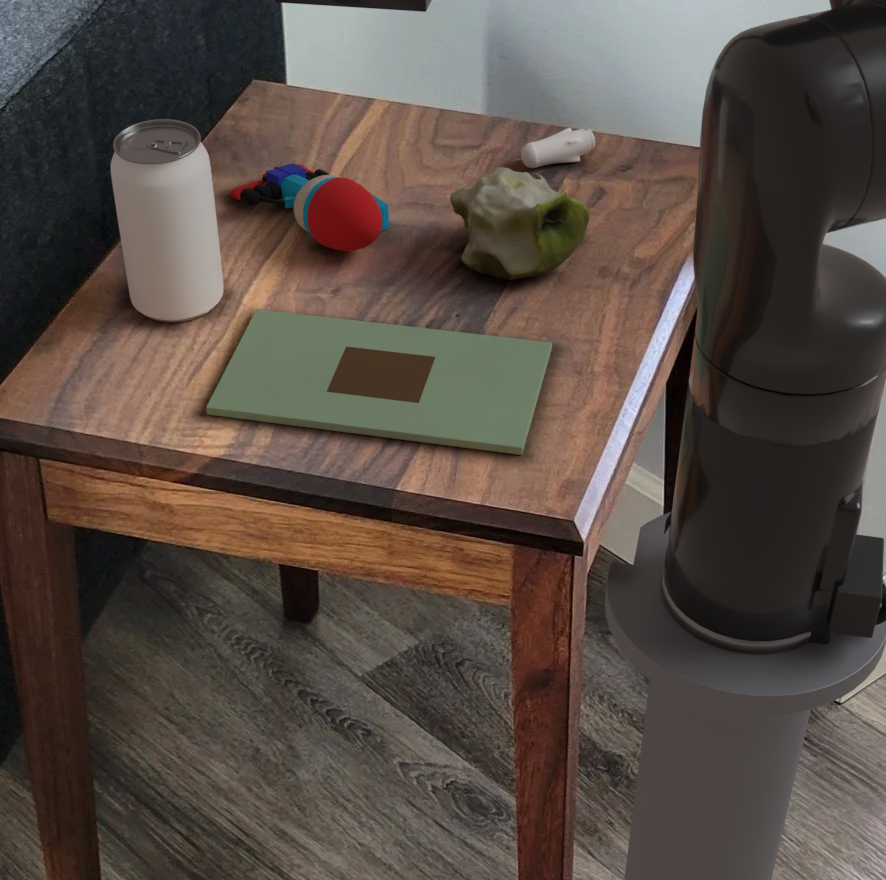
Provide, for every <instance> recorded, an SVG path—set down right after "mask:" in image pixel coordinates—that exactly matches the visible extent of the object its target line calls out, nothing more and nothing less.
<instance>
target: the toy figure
mask: <svg viewBox="0 0 886 880" xmlns="http://www.w3.org/2000/svg"><path fill="white" fill-rule="evenodd" d="M228 194H229V195H230V196H231V197H232V198H233V199H235V200H237V201H241V202H242V203H243V204H245V205H247V206H249V207H256V206H258V205H259V204H260V202H262V203H264V204H265V203H266V204H271V205H275V206H276V205H277V206H282V207H285V209H292V208H293V213H294V219H295V220H296V222H297V224H298V225H299V226H300V227H301V228H302V230H304V231H305V232H306V233H308V235H310V236H311V237H312V238H313V239H314V240H315V241H316V242H317V243H318V244H320V245H322V246H325V247H327V248H330V249H332V250H335V251H341V252H343V251H344V252H354V251H358V250H361V249H365V248H367V247H369V246H371V245H372V244H373V243H374V242H376V240H377V239H378V237H379V236H380V234H381V232H382V231H385V230H387V229H389V228H390V213H389V211H390V210H389V204H388V203H386V202H385V201H383V200H382V199H380V198H378V197H377V196H376V195H374V194H372V193H371V192H370V191H369V190H368V189H366V188H365V187H364V186H363V185H362V184H360V183H359V182H357V181H355V180H353V179H351V178H349V177H344V176H340V175H335V174H330V173H329V172H327V171H326V170H323V169H321V168H317V169H316V170H314V172H313V170H311V169H309V168H307V167H306V166H304V165H302V164H298V163H294V162H292V163H288V164H283V165H280V166H275V167H274V168H272V169H269V170H266V171H265V173H264V174H262V175H261V179H258V180H254V181H251V182H248V183H245V184H242V185H239V186H236V187H235V188H233V189H231V191H229V193H228Z"/></svg>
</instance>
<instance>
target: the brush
mask: <svg viewBox="0 0 886 880" xmlns="http://www.w3.org/2000/svg"><path fill="white" fill-rule="evenodd" d="M432 1H433V0H361V1H360V2H359V3H357V4H349V3H337V2H335V1H333V0H274V2H275V3H277V4H278V3H281V4H295V5H297V4H298V5H310V6H312V5H313V6H328V7H342V8H359V9H375V10H391V11H392V10H393V11H407V12H420V13H421V12H422V13H426V12H427V10H428V9H429V6H430V5H431V3H432Z"/></svg>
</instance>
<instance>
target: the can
mask: <svg viewBox="0 0 886 880" xmlns="http://www.w3.org/2000/svg"><path fill="white" fill-rule="evenodd" d="M201 141H202V135H201V132H200V131H199V130H198V128H196V127H195V126H194V125H192V124H190V123H188V122H186V121H182V120H178V119H171V118H159V119H149V120H145V121H141V122H137V123H134V124H131V125H130V126H128V127H126V128H124V129H123V130H121V131H120V132H119V133H118V134H117V135H116V136H115V138H114V140H113V143H112V147H113V150H114V152H113V154H112V158H111V160H110V176H111V177H110V178H111V184H112V192H113V197H114V203H115V204H114V205H115V212H116V217H117V225H118V231H119V237H120V241H121V249H122V254H123V256H122V257H123V262H124V269H125V274H126V280H127V281H126V282H127V287H128V292H129V298H130V302H131V304H132V307H133V308H135V310H136V311H138V312H139V313H141V314H142V315H143V316H144V317H146V318H148V319H151V320H153V321H157V322H162V323H183V322H188V321H189V322H190V321H192V320H195V319H198V318H200V317H203V316H205V315H207V314H208V313H210V312H211V311H212V310H214V308H216V306H217V305H218V303H219V302H220V301H221V299H222V298H223V295H224V289H225V288H224V276H223V267H222V265H223V264H222V257H221V256H222V255H221V247H220V238H219V228H218V220H217V209H216V202H215V201H216V200H215V191H214V184H213V174H212V167H211V160H210V156H209V155H210V154H209V153H208V150H207V149H206V147H205V146H204V144H203V143H202V142H201Z"/></svg>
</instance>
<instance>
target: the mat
mask: <svg viewBox="0 0 886 880" xmlns="http://www.w3.org/2000/svg"><path fill="white" fill-rule="evenodd" d="M552 349H553V343H552V341H543V340H542V341H541V340H535V339H534V340H532V339H525V338H517V337H516V338H515V337H508V336H507V337H506V336H498V335H490V334H480V333H471V332H463V331H462V332H461V331H456V330H455V331H453V330H446V329H445V330H444V329H435V328H427V327H418V326H410V325H401V324H391V323H385V322H384V323H383V322H374V321H367V320H366V321H365V320H357V319H349V318H340V317H330V316H321V315H311V314H303V313H296V312H286V311H277V310H269V309H259V308H257V309H256V310H255V311H254V313H253V315H252V317H251V319H250V321H249V323H248V325H247V327H246V328H245V331H244V332H243V335H242V336H241V338H240V339H239V342H238V345H237V346H236V348H235V350H234V352H233V354H232V356H231V358H230V360H229V361H228V364H227V365H226V367H225V370H224V372H223V374H222V375H221V378H220V380H219V381H218V383H217V385H216V387H215V389H214V391H213V393H212V395H211V397H210V399H209V401H208V403H207V405H206V407H205V411H206V414H207V415H210V416H216V417H225V418H233V419H239V420H247V421H255V422H263V423H270V424H271V423H273V424H278V425H286V426H292V427H293V426H294V427H301V428H310V429H316V430H326V431H333V432H341V433H347V434H348V433H349V434H356V435H364V436H371V437H377V438H378V437H379V438H387V439H395V440H401V441H402V440H403V441H410V442H418V443H424V444H425V443H426V444H433V445H442V446H449V447H457V448H462V449H463V448H465V449H472V450H478V451H487V452H496V453H502V454H510V455H519V456H522V455H523V453H524V450H525V446H526V442H527V439H528V435H529V432H530V428H531V425H532V421H533V418H534V414H535V410H536V406H537V403H538V399H539V396H540V392H541V389H542V385H543V382H544V378H545V374H546V371H547V367H548V364H549V360H550V357H551V353H552Z"/></svg>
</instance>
